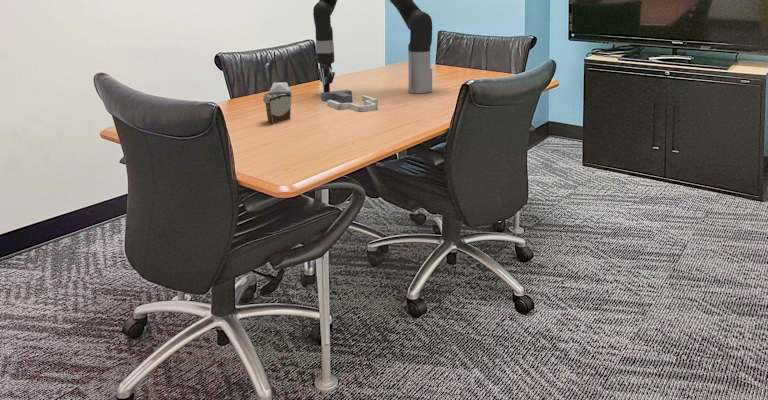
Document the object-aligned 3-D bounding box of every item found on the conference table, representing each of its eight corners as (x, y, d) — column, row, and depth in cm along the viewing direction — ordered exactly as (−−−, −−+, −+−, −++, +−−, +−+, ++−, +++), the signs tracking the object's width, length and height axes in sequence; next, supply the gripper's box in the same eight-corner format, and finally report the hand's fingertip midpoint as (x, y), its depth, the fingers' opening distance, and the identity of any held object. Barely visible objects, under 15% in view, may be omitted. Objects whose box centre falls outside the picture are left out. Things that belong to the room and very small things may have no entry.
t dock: (365, 100, 306) (365, 95, 305) (387, 108, 291) (387, 102, 290) (327, 105, 298) (327, 100, 297) (348, 113, 283) (348, 108, 283)
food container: (280, 116, 280) (278, 89, 277) (293, 118, 277) (291, 91, 274) (257, 123, 271) (255, 95, 267) (270, 125, 267) (268, 97, 264)
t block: (347, 96, 314) (347, 89, 313) (361, 101, 304) (361, 94, 303) (321, 100, 308) (321, 92, 307) (334, 105, 298) (334, 97, 297)
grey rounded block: (282, 107, 298) (295, 86, 299) (262, 96, 299) (275, 74, 299) (285, 111, 307) (297, 89, 307) (265, 99, 307) (278, 78, 307)
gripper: (340, 52, 308) (341, 94, 313) (326, 48, 319) (328, 89, 324) (323, 53, 304) (325, 96, 310) (309, 50, 315) (312, 91, 321)
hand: (326, 92), depth 317 cm, fingers closed
